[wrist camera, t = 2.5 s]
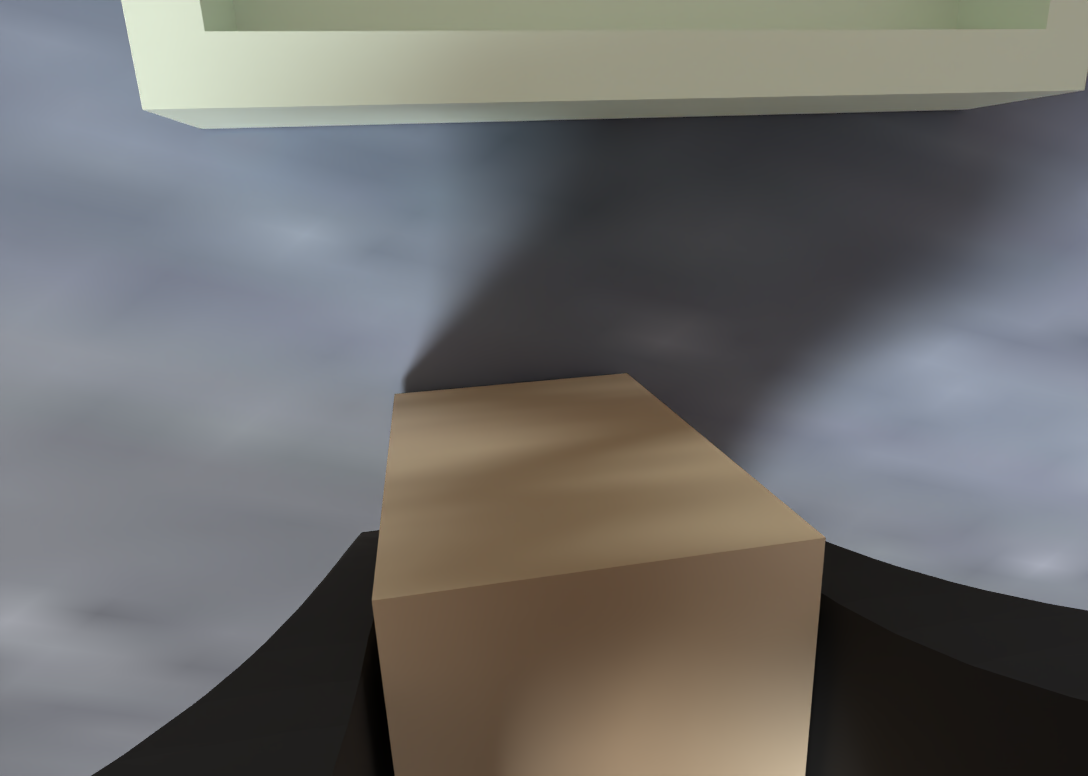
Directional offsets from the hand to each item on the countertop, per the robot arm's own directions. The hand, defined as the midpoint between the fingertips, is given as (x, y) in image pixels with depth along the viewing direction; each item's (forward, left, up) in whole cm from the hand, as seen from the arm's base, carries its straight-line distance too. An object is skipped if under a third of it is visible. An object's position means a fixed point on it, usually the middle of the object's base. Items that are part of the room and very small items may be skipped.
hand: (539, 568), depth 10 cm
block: (0, 0, -2) cm, 2 cm away
